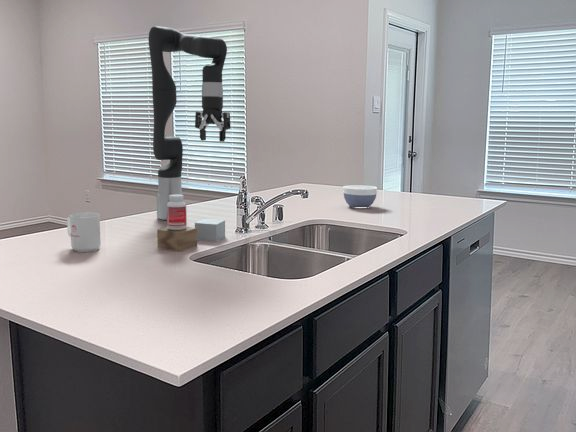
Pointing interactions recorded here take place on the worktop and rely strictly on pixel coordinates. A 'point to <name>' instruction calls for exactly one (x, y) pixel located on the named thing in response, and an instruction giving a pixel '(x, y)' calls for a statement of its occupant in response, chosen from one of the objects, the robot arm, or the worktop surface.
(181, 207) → the pill bottle
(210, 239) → the grey block
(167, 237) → the walnut block
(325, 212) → the worktop surface
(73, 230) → the mug
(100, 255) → the worktop surface
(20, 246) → the worktop surface
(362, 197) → the bowl
